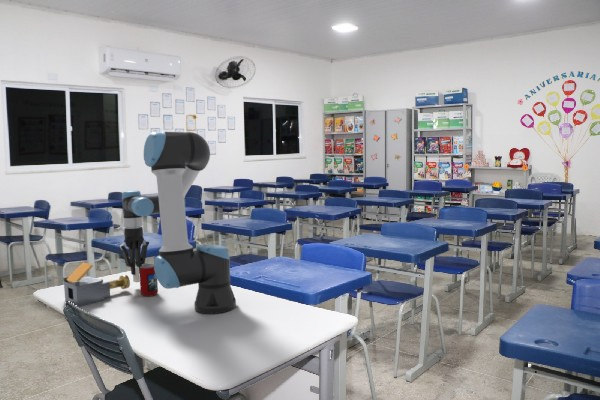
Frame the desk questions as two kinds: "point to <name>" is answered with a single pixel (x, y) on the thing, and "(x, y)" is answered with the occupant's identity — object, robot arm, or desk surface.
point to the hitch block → (86, 290)
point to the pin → (120, 282)
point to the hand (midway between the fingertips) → (136, 281)
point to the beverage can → (148, 280)
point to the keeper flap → (79, 272)
